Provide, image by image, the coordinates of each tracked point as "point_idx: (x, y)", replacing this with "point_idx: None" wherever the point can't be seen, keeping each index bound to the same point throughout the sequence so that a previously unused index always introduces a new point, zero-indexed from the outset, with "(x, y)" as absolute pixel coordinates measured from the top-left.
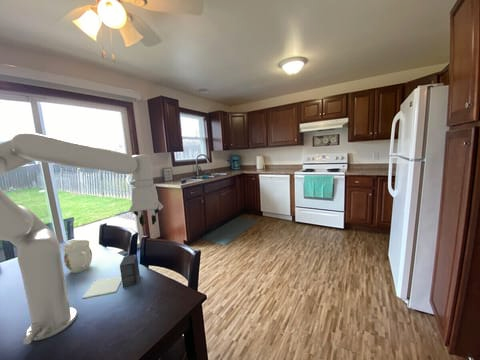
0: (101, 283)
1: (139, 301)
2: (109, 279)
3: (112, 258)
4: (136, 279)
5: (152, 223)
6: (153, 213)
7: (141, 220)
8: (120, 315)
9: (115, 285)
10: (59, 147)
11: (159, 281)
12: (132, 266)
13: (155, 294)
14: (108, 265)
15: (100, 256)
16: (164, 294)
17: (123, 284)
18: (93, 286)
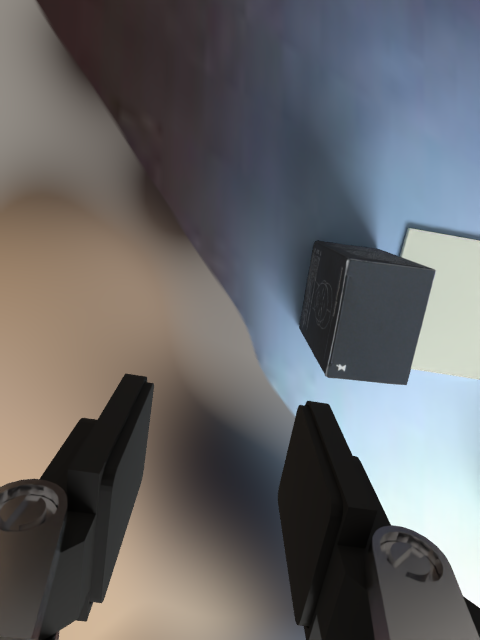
0: (471, 337)
1: (304, 76)
2: (437, 356)
3: None
4: (318, 249)
5: (146, 389)
6: (23, 538)
7: (339, 456)
8: (389, 4)
9: None
10: None
11: (204, 213)
12: (352, 255)
13: (227, 96)
14: (440, 501)
15: None
16: (183, 69)
17: (379, 250)
18: None
